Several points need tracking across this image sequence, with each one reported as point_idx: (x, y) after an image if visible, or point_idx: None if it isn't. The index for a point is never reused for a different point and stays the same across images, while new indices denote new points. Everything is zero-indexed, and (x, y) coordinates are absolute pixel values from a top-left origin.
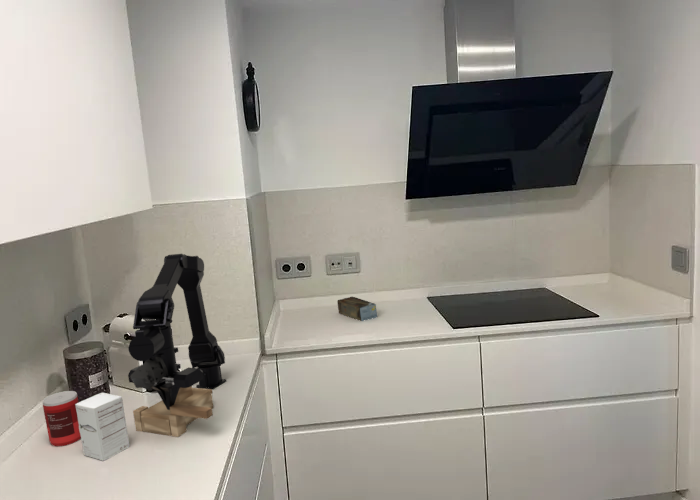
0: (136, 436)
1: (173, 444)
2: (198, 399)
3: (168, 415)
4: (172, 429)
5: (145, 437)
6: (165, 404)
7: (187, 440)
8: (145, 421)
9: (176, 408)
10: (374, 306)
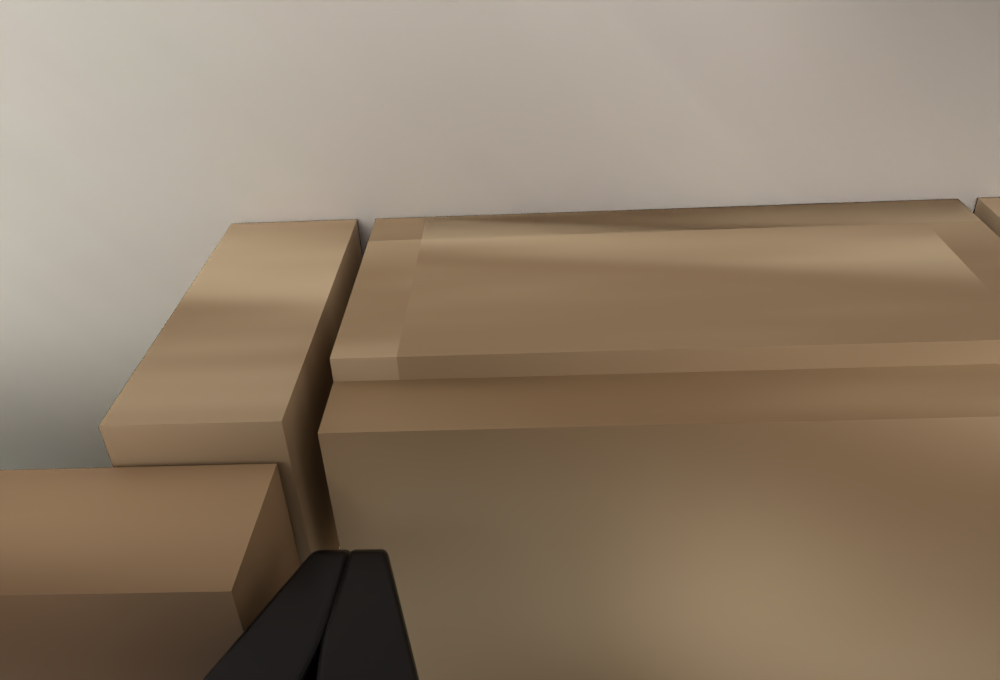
0: (981, 45)
1: (83, 14)
2: None
3: (336, 436)
4: (304, 273)
5: (779, 64)
6: (370, 642)
7: (4, 184)
8: (942, 291)
9: (17, 585)
10: None
